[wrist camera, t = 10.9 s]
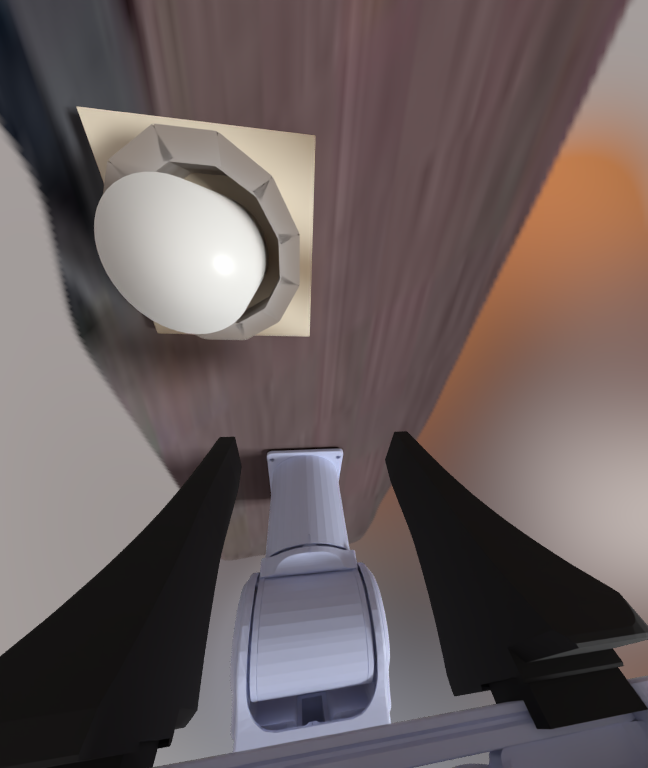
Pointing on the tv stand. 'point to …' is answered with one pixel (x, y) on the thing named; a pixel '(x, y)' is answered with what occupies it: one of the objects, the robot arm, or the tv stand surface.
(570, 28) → the tv stand surface
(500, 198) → the tv stand surface
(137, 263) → the white rounded piece
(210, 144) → the beige square plate
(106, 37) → the tv stand surface
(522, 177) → the tv stand surface
